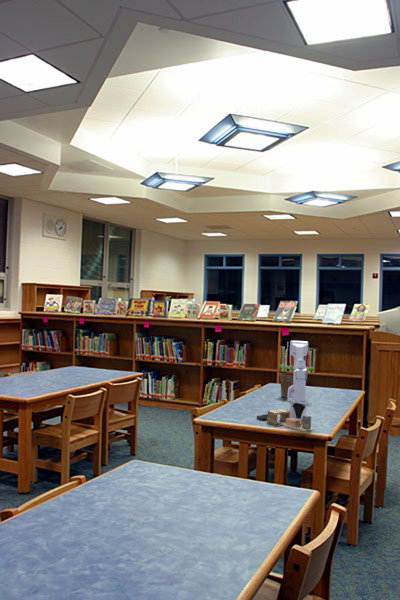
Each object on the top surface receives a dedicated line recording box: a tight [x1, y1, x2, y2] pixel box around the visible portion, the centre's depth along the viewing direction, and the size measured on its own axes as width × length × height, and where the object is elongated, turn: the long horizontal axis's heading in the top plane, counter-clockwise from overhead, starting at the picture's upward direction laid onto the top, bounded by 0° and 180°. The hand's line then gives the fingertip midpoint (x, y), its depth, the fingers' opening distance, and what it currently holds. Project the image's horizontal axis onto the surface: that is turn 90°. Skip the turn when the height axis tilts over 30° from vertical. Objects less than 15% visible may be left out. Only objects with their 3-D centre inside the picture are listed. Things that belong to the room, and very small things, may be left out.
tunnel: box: [266, 408, 290, 426], centre depth 280 cm, size 11×6×6 cm, turn 129°
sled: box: [277, 414, 314, 432], centre depth 271 cm, size 7×18×7 cm, turn 39°
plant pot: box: [278, 372, 294, 399], centre depth 365 cm, size 16×16×16 cm
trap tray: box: [256, 413, 268, 422], centre depth 287 cm, size 9×5×2 cm, turn 129°
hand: (298, 418), depth 269 cm, fingers closed
